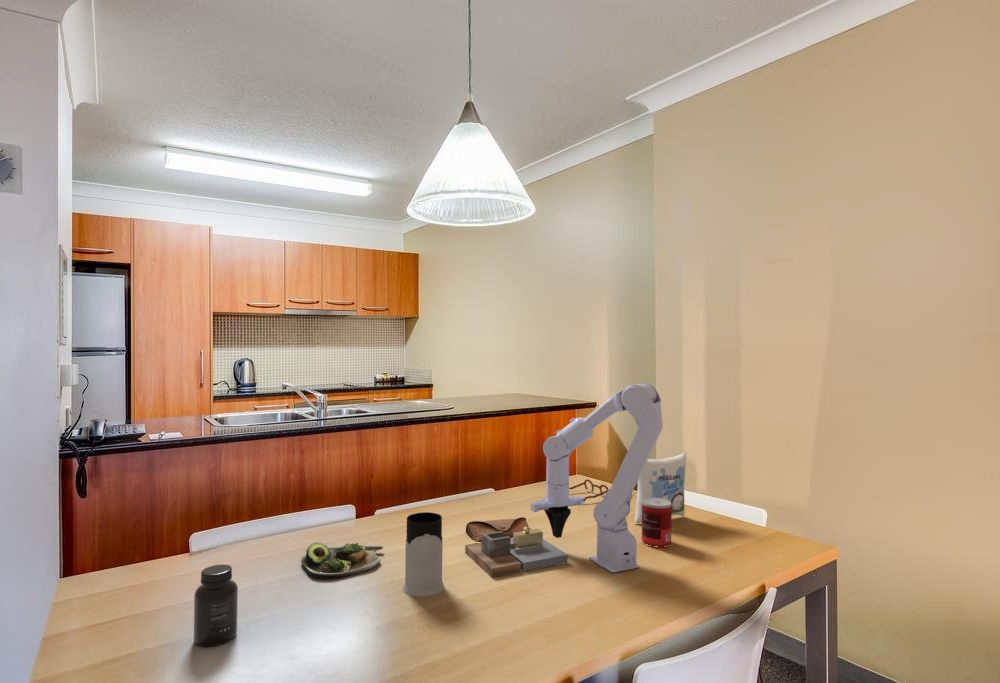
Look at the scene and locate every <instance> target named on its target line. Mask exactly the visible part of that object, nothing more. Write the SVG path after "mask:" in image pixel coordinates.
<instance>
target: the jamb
mask: <svg viewBox="0 0 1000 683" xmlns="http://www.w3.org/2000/svg"><path fill="white" fill-rule="evenodd" d="M464 547H465V548H464V553H465V554H466V555H467V556H468V557H469V558H470V559H471V558H472V559H471V560H472V561H473V560H474V561H475V562H474V561H473V562H474V563H475V564H476V565H477V566H478V567H480V568H481V569H482V570H483V571H484V572H485V573H486V574H487V573H488V576H490V577H491V578H496V576H497V577H501V576H506V575H507V574H508V575H512V573H513V574H518V573H521V572H522V570H521V563H520V562H519V561H518V560H516V559H515V558H514V557H512V556H511V555H510V549H511V537H509V536H506V537H503V532H502V531H498V532H491V533H484V534H482V539H481V543H474V542H473V543H468V544H465V546H464ZM517 572H518V573H517Z"/></svg>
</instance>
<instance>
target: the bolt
mask: <svg viewBox="0 0 1000 683" xmlns="http://www.w3.org/2000/svg"><path fill="white" fill-rule="evenodd" d="M529 528H530V526H529V527H524V531H521V532H515V533H513V548H520V547H526V546H532V545H538V544H540V545H542V546H543V539H544V538H543V537H544V531H543V530H541V529H539V528H535V529H530V530H529Z"/></svg>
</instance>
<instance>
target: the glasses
mask: <svg viewBox="0 0 1000 683" xmlns="http://www.w3.org/2000/svg"><path fill="white" fill-rule="evenodd" d="M587 482H588V483H590V486H591V491H593V492H594V490H595V489H594V488H598V489H599V492H600V493H596V494H595V495H588V496H585V497H583V502H584V503H585V501H586V500H589V499H595V498H597V497H600V496H602V495H605V494H606V493H607V492H608V490H609V489H610V488H609V487H608V486H607V485H605V484H601V485H600V486H599V485H597V484H593V482H592V480H590V479H587V478H586V479H584V481H583V482H581V483H579V484H576V485H574V486H573V485H572V486H571V487H570V486H569V490H573V489H576V488H578V487H582V486H583V485H584V488H585V490H586V489H588V486H587ZM603 488H605V489H606V490H604V491H603V490H602V489H603ZM588 490H589V489H588Z"/></svg>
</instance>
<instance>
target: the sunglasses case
mask: <svg viewBox="0 0 1000 683" xmlns="http://www.w3.org/2000/svg"><path fill="white" fill-rule="evenodd" d="M524 527H529V530H531V528H530V526H529V525H528V522H527V518H526V517H522V516H521V517H517V518H508V519H507V518H505V519H495V520H494V519H492V520H484V521H482V520H481V521H480V520H474V521H469V522H467V524H466V526H465V534H466V533H467V535H468V536H469V537H470V538H471V539H472V540H474V541H475V542H481V539H482V534H484V533H491V532H498V531H502V532H503V537H506V536H509V537H511V538H513V533H515V532H521V531H524ZM467 535H466V536H467ZM468 536H467V537H468ZM469 537H468V538H469ZM470 538H469V539H470ZM471 539H470V540H471ZM472 540H471V541H472Z"/></svg>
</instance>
